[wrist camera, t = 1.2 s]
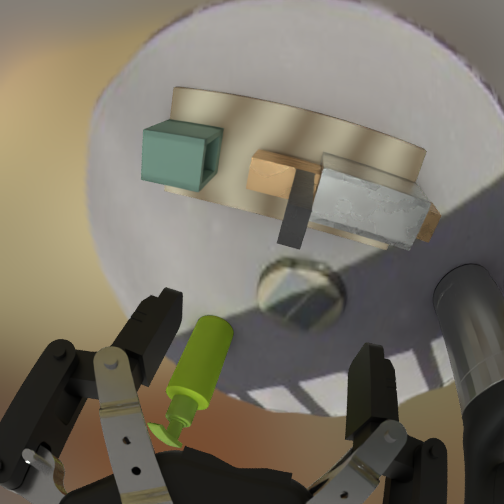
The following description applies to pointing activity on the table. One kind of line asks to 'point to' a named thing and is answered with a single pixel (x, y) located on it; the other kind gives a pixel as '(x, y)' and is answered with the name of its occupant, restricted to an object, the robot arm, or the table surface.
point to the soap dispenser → (195, 376)
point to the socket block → (181, 154)
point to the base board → (283, 147)
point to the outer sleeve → (368, 202)
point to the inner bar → (301, 193)
